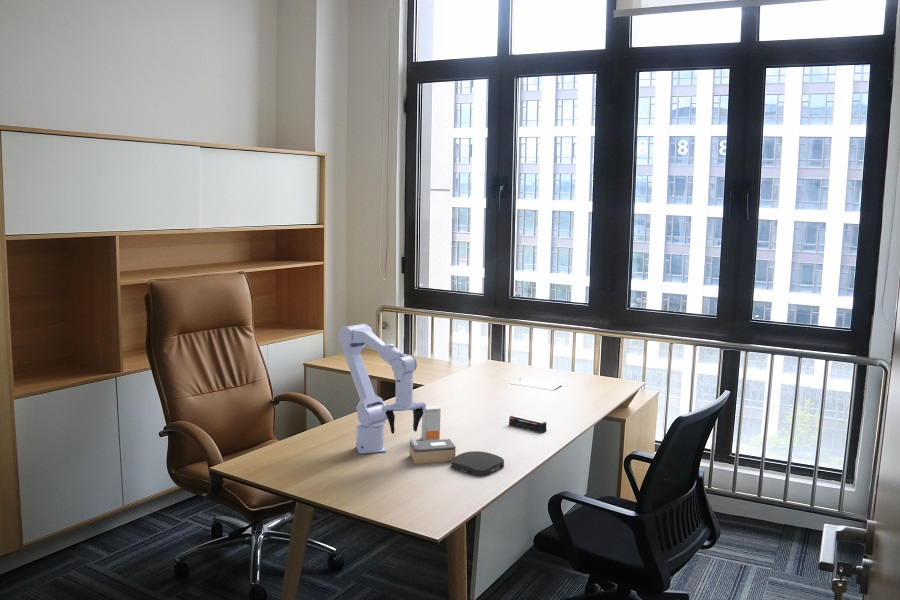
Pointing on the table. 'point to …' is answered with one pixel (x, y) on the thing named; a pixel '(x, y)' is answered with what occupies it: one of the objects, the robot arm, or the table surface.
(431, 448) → the lid
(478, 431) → the table surface
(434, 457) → the box
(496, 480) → the table surface
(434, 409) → the skincare box
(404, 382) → the robot arm
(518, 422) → the graphics card
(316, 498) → the table surface
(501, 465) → the media streaming box
